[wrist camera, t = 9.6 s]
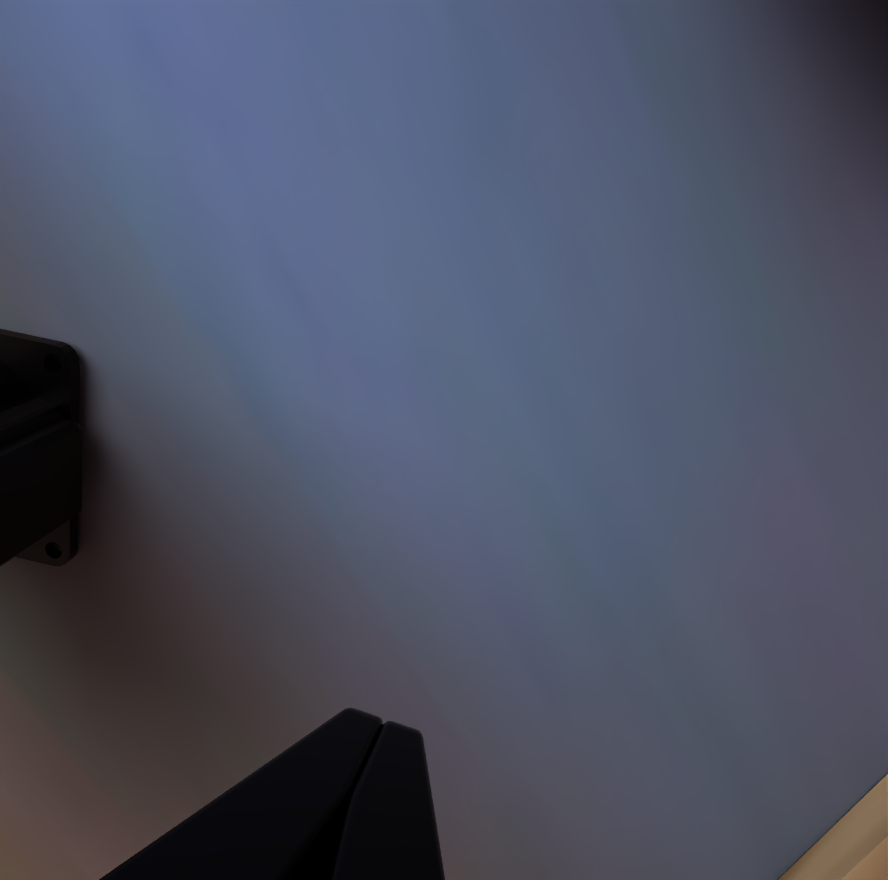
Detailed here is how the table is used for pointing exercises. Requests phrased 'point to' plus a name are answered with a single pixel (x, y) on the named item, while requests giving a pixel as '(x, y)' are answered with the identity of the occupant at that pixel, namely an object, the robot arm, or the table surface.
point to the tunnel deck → (851, 844)
